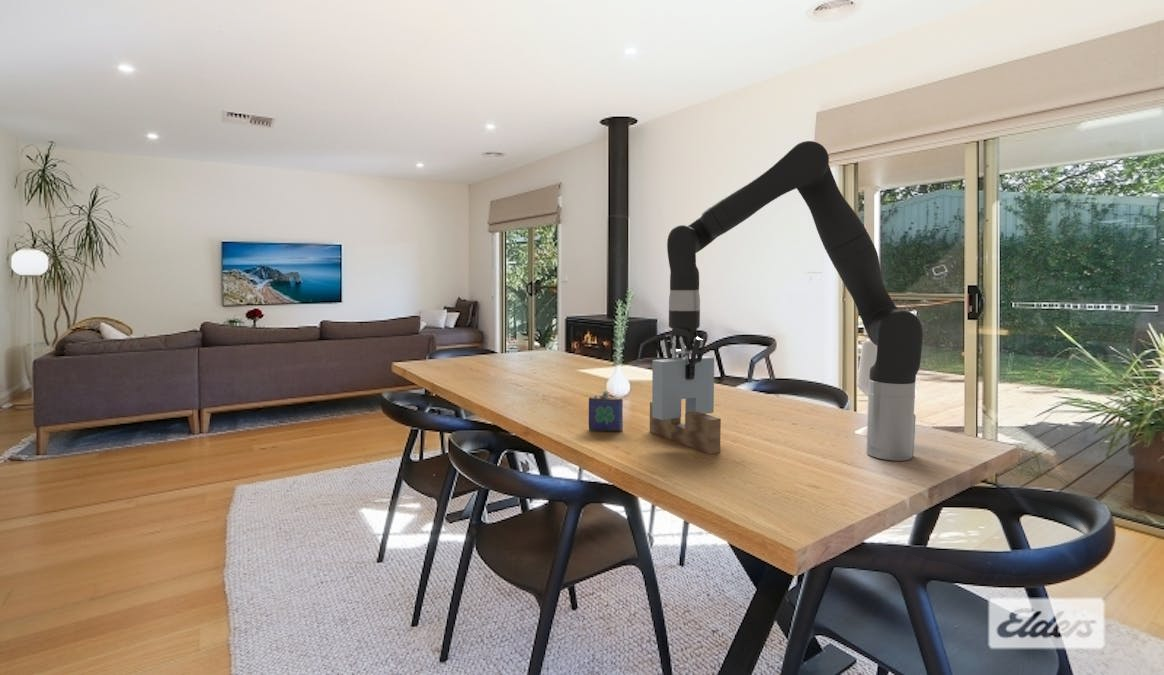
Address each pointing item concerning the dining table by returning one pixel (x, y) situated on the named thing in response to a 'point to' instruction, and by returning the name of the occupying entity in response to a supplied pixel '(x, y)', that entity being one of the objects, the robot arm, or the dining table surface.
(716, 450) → the walnut slotted plate
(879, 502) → the dining table surface
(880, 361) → the robot arm
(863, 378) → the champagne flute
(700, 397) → the tall grey upright block
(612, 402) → the flask
